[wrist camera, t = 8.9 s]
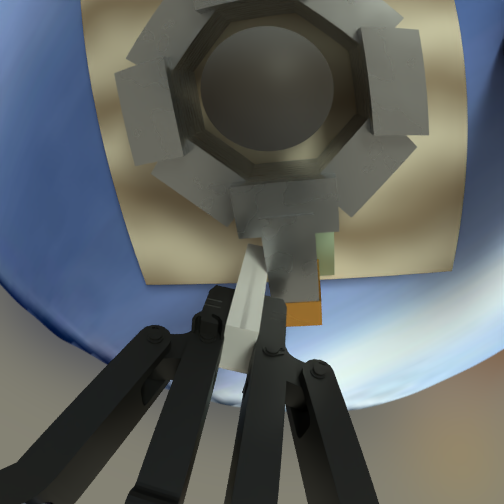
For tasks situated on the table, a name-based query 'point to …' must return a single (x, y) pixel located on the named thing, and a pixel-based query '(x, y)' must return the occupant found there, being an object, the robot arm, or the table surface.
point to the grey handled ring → (286, 172)
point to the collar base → (288, 142)
